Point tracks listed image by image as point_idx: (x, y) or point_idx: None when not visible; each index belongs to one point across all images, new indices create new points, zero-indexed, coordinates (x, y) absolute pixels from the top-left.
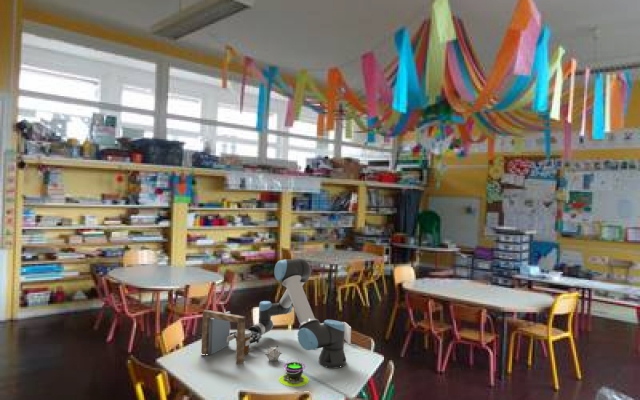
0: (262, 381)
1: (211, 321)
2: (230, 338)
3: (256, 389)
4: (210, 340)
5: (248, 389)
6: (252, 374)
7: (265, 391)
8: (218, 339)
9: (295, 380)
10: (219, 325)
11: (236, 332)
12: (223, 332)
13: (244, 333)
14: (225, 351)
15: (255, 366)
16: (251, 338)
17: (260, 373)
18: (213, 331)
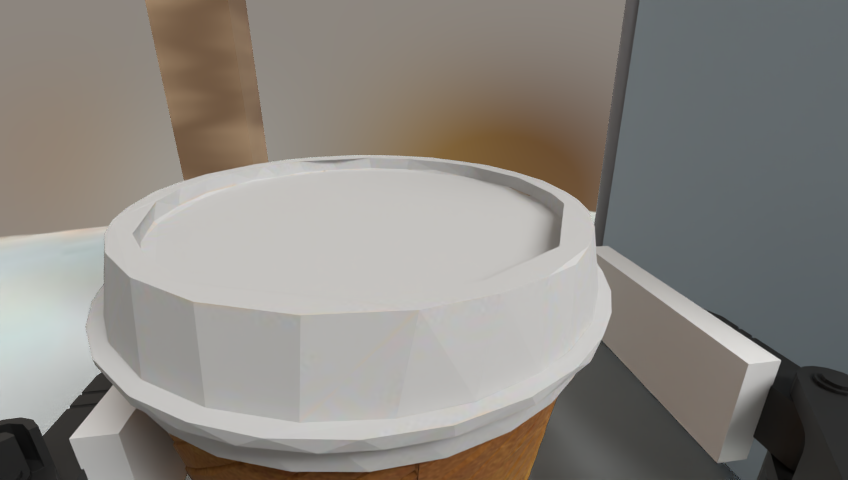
0: (12, 273)
1: None
2: (626, 321)
3: (59, 237)
4: (600, 183)
5: (105, 229)
6: (94, 291)
7: (4, 240)
8: (687, 263)
9: None
10: (751, 48)
11: (469, 164)
12: (832, 243)
13: (158, 40)
14: (624, 461)
15: (70, 367)
16: (119, 393)
17: (19, 316)
18: (637, 101)
